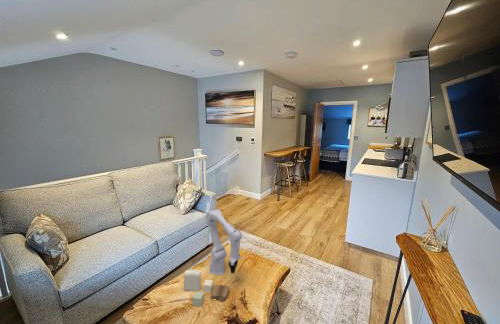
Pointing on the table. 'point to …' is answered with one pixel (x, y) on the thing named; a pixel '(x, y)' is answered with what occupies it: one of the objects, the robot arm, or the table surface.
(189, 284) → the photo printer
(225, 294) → the walnut base
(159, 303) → the table surface
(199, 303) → the sage cube
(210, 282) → the cream cube
